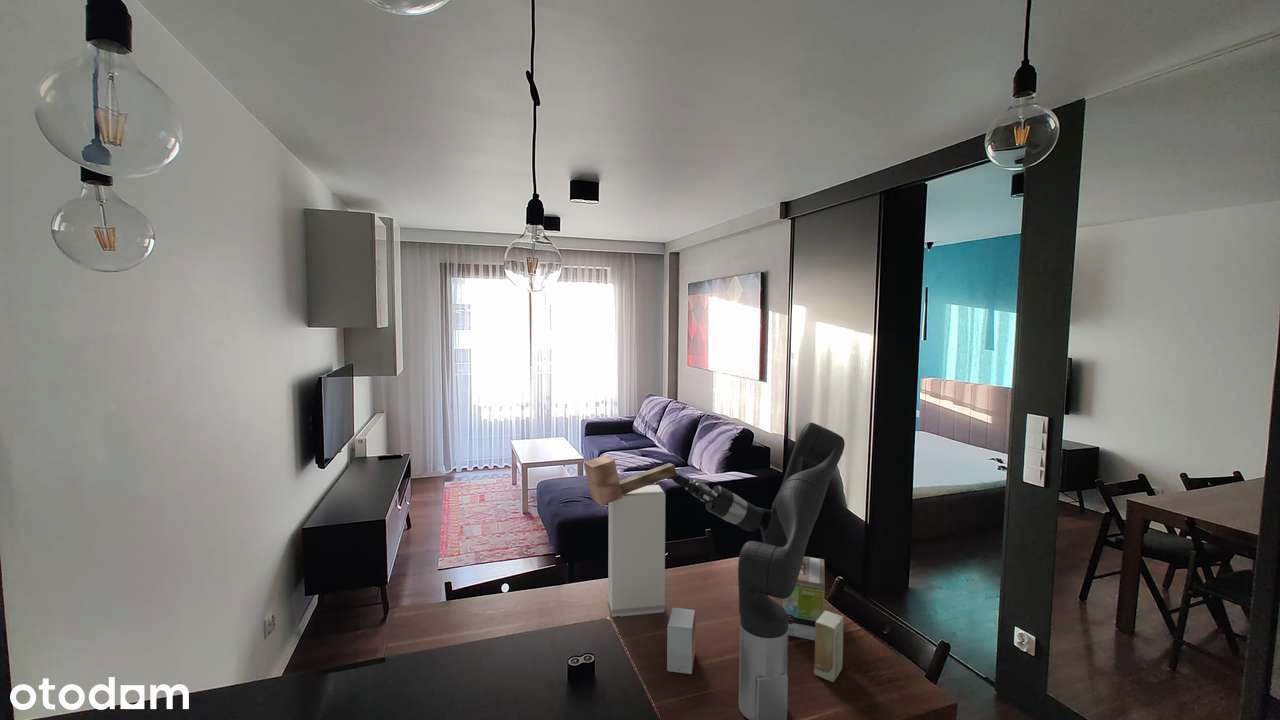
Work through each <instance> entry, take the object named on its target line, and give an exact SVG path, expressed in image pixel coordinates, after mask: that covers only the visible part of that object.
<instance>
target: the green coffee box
mask: <svg viewBox="0 0 1280 720" xmlns="http://www.w3.org/2000/svg"><path fill="white" fill-rule="evenodd" d="M825 566H826V565H825V559H823V558H816V557H810V556H804V557H803V561H802V565H801V569H800V573H799V576H798V580H797V583H796V586H795V588H794V591H793V592H792V594H791V595H790V596H789V597H788V598H786V599H782V605H781V606H782V607H783V608H784V610H785V611H786V613H787V615H788V636H789V637H795V638H799V639H800V638H801V639H805V640H811V641H815V622H816V620H817V619H818V618H819V617H820V615H821V614H822V613H823V612H824V611H825V609H824V608H825V587H826V583H825V582H826V576H825V570H826V569H825V568H826V567H825Z"/></svg>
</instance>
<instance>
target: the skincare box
mask: <svg viewBox="0 0 1280 720" xmlns="http://www.w3.org/2000/svg"><path fill="white" fill-rule="evenodd" d="M844 618H845V617H844V616H843V615H840V614H837V613H835V612H832V611H829V610H825V609H824V612H823V613H822V614H821V615H820V617H819V618H818V619H817V620H816V622H815V640H814V661H813V662H814V663H813V664H814V666H813V669H814V670H813V674H814V675H815V676H818V677H820V678H822V679H824V680H826V681H829V682H831V683H834V682H835V681H836V680H837V678H838V676H839V674H840V672H842V669H843V661H844V659H843V657H844V656H843V652H844V622H845V621H844Z"/></svg>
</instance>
